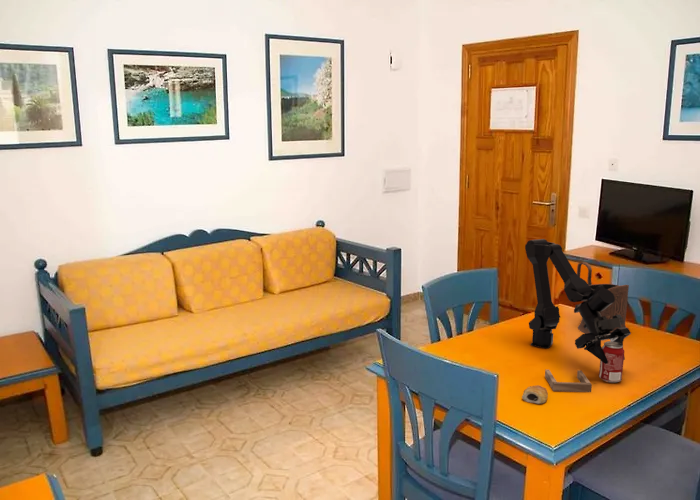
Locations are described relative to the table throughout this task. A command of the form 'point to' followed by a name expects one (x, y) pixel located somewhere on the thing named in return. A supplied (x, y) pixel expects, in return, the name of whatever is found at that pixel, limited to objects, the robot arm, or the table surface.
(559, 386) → the frame
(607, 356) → the soda can
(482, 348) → the table surface
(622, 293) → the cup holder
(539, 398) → the pastry
